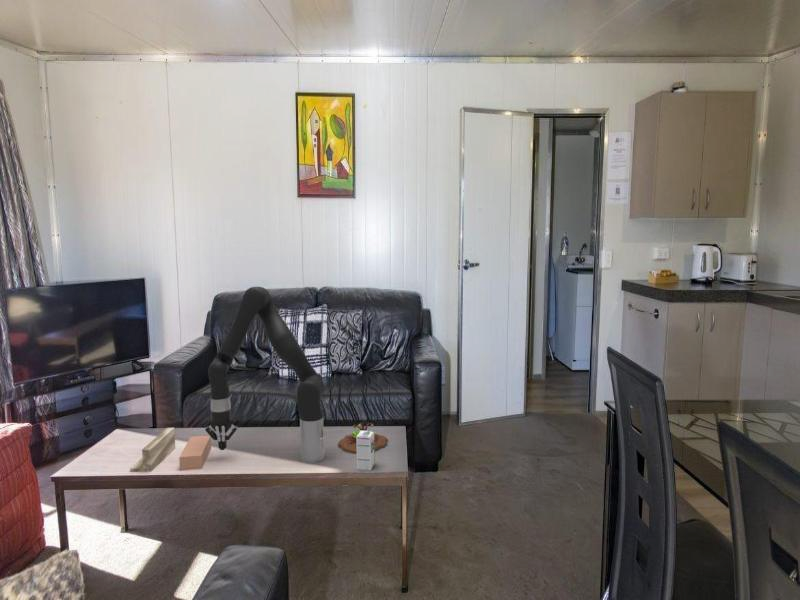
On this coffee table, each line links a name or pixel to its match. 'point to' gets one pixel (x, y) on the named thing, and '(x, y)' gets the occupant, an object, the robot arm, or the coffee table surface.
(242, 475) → the coffee table surface
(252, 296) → the robot arm
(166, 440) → the beige ridged rail
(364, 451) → the syrup box
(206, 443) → the terracotta block
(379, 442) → the plant
